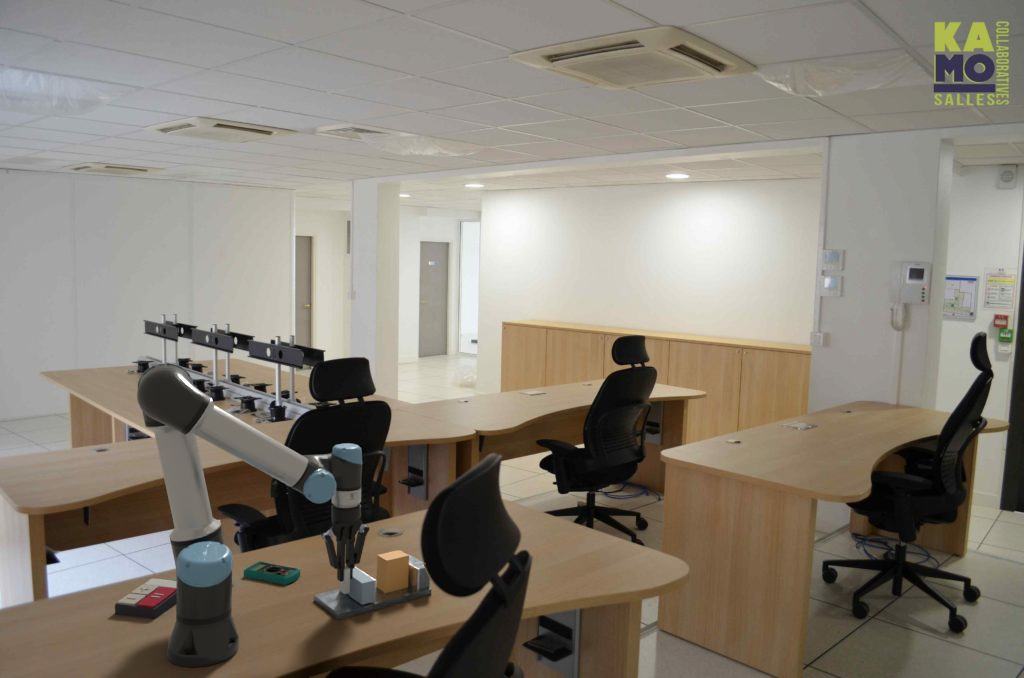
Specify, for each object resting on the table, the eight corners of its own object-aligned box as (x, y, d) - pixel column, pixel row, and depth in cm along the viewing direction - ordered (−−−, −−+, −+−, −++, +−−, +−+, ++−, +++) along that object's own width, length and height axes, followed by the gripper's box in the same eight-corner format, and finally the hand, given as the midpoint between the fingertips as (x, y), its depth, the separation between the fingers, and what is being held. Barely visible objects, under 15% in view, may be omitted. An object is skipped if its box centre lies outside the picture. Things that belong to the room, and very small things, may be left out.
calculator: (113, 601, 187) (151, 575, 202) (114, 618, 188) (151, 590, 203) (154, 606, 186) (189, 580, 200) (154, 623, 186) (189, 595, 201)
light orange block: (385, 593, 204) (386, 560, 203) (376, 586, 208) (377, 554, 207) (407, 587, 208) (409, 555, 208) (398, 581, 212) (399, 549, 211)
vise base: (338, 619, 190) (339, 590, 190) (313, 600, 201) (314, 572, 200) (431, 594, 208) (432, 567, 208) (404, 577, 219) (405, 552, 218)
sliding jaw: (361, 604, 195) (362, 583, 195) (340, 589, 204) (340, 568, 204) (375, 601, 198) (376, 579, 197) (353, 585, 207) (353, 565, 207)
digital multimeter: (287, 587, 209) (287, 576, 209) (242, 578, 214) (242, 568, 214) (302, 578, 216) (302, 568, 216) (258, 569, 221) (258, 559, 221)
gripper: (329, 511, 190) (328, 602, 191) (375, 503, 198) (373, 590, 200) (316, 504, 195) (315, 592, 197) (361, 496, 204) (359, 581, 205)
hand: (344, 591), depth 198 cm, fingers closed
